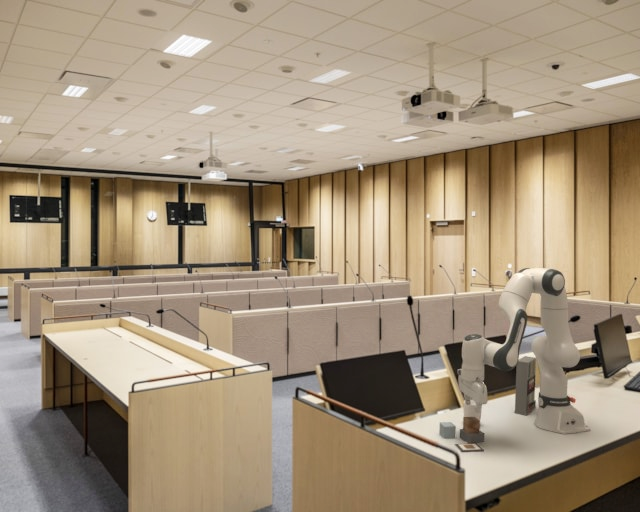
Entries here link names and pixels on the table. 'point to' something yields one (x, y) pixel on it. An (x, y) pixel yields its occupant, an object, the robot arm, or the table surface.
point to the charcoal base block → (472, 437)
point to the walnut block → (471, 424)
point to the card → (469, 447)
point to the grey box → (525, 385)
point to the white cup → (471, 410)
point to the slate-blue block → (447, 430)
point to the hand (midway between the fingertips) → (472, 408)
